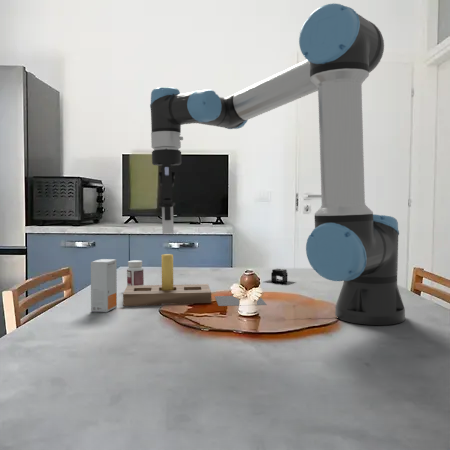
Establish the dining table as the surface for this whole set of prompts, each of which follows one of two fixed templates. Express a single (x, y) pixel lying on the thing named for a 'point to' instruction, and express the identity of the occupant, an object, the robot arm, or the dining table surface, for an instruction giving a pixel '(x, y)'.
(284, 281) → the black box
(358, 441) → the dining table surface
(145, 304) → the block
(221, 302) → the mat
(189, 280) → the dining table surface
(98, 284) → the skincare box
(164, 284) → the peg
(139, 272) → the pill bottle
